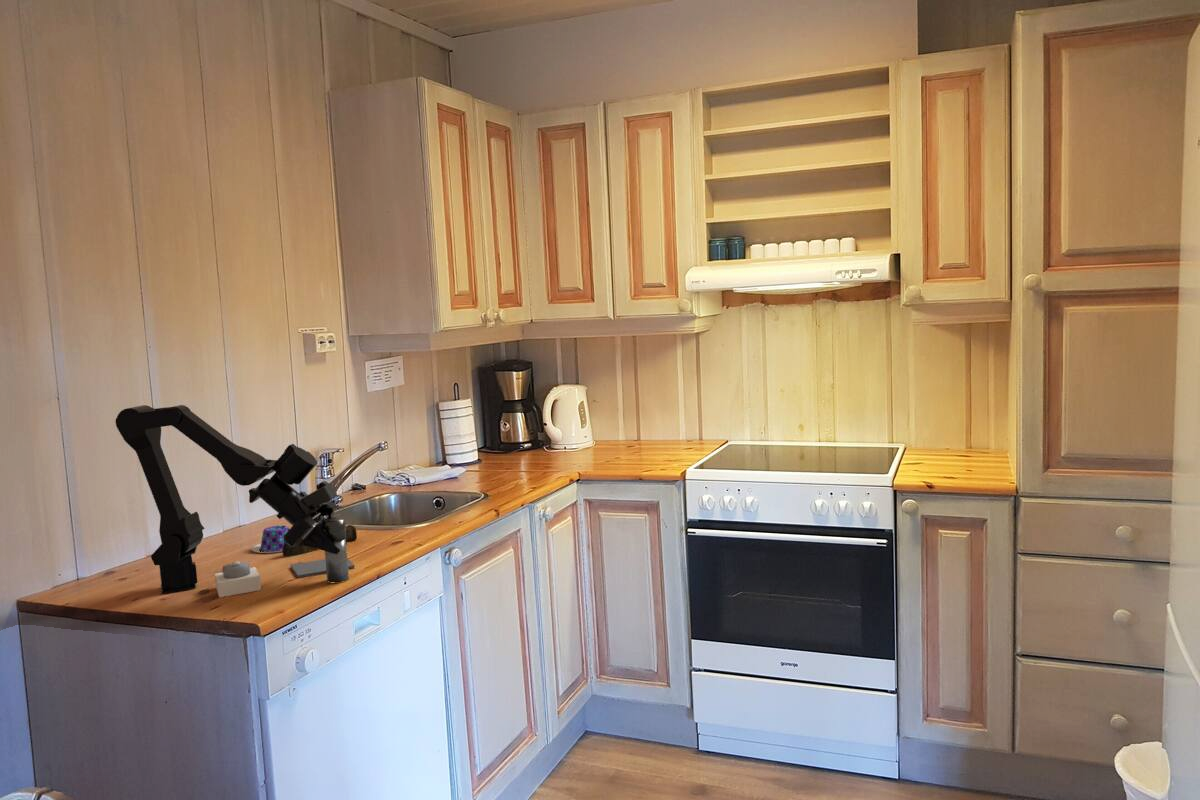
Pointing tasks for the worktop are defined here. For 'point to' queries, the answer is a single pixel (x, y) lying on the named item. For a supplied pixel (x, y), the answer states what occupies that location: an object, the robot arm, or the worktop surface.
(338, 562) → the grey upright cylinder
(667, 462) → the worktop surface
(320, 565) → the rest mat
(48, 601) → the worktop surface
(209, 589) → the worktop surface
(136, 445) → the robot arm
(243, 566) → the block
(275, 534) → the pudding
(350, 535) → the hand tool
